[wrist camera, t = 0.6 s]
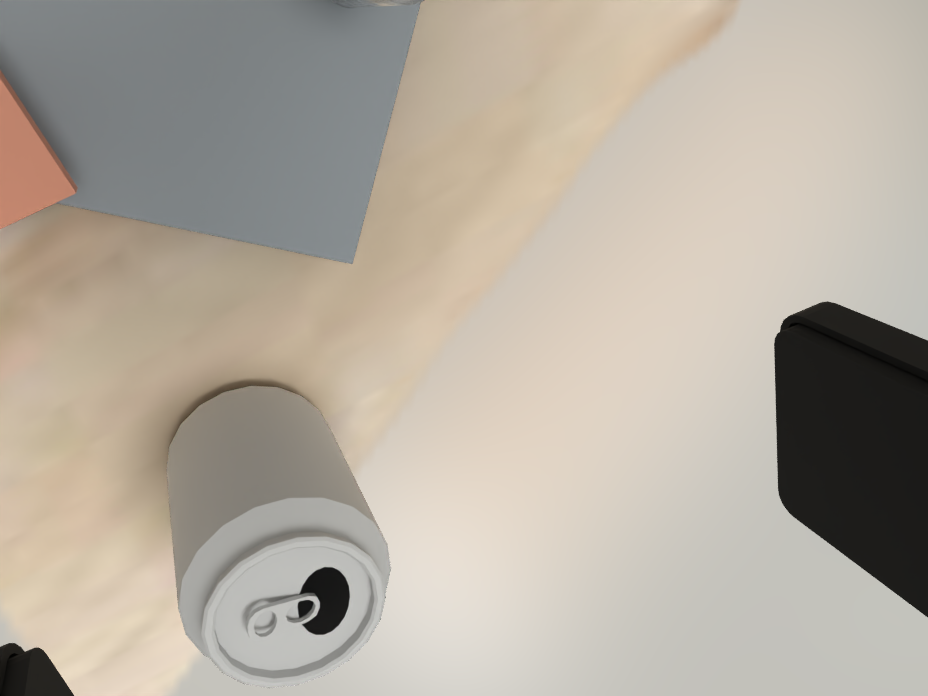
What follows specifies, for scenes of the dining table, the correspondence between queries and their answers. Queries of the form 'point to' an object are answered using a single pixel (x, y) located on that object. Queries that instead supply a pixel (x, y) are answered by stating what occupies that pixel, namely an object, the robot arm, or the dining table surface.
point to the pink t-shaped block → (26, 163)
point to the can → (271, 539)
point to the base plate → (215, 110)
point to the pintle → (374, 3)
